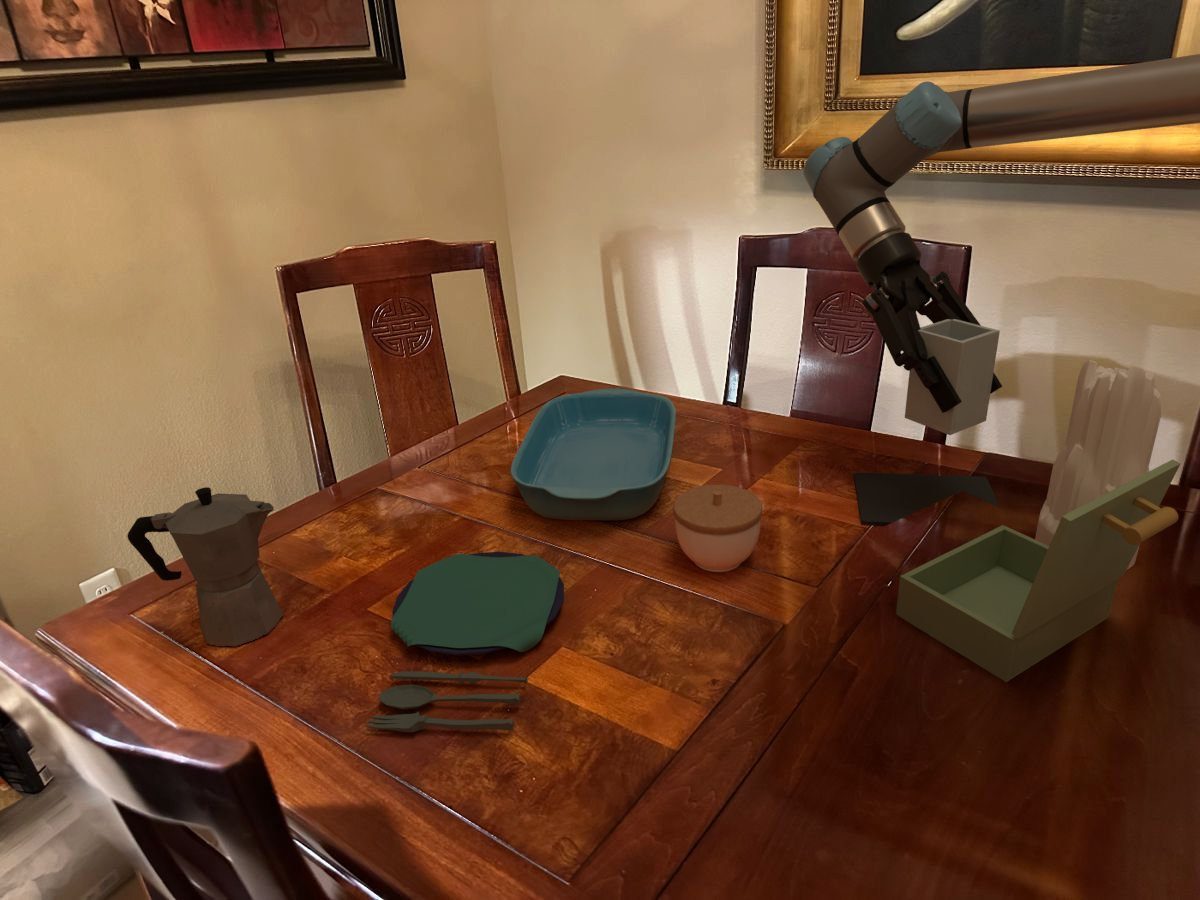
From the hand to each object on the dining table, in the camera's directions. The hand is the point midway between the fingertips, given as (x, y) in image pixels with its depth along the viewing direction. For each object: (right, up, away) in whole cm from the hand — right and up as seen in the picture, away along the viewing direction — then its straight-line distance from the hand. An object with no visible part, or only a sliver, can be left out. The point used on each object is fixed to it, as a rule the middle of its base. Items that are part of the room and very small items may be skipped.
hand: (972, 399), depth 104 cm
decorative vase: (+12, -19, -2) cm, 23 cm away
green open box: (-3, -25, -13) cm, 28 cm away
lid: (0, -15, -24) cm, 29 cm away
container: (-2, -2, +4) cm, 5 cm away
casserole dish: (-46, -10, +24) cm, 53 cm away
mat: (-2, -13, +11) cm, 17 cm away
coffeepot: (-89, -27, -5) cm, 93 cm away
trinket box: (-31, -20, +2) cm, 37 cm away
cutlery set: (-60, -27, -10) cm, 67 cm away
